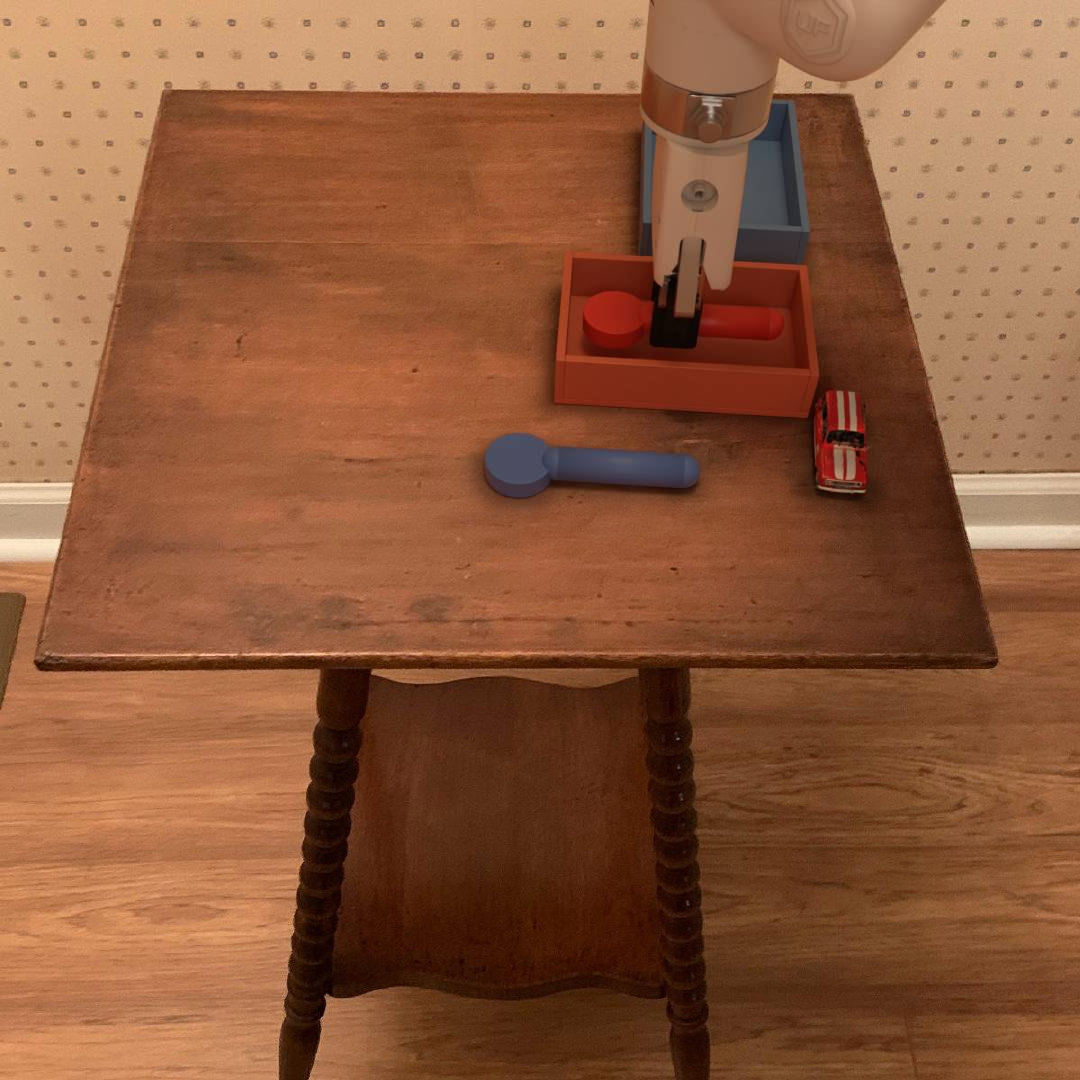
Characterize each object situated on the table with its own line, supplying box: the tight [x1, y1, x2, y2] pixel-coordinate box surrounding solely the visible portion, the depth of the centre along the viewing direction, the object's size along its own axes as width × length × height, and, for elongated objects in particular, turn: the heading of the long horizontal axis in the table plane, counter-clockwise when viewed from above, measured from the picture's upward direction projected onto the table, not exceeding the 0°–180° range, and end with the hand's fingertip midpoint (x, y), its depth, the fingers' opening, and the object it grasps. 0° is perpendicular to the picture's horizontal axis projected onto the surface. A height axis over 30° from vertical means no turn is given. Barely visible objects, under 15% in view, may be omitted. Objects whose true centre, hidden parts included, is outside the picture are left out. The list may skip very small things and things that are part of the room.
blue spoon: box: [484, 432, 701, 499], centre depth 76 cm, size 14×4×2 cm, turn 86°
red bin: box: [553, 251, 820, 419], centre depth 83 cm, size 17×11×4 cm, turn 86°
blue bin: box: [638, 98, 811, 265], centre depth 94 cm, size 12×17×4 cm
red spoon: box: [582, 291, 784, 349], centre depth 82 cm, size 14×4×2 cm, turn 86°
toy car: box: [812, 389, 873, 495], centre depth 77 cm, size 4×8×3 cm, turn 173°
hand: (672, 329), depth 82 cm, fingers closed on red spoon, 2 cm apart
